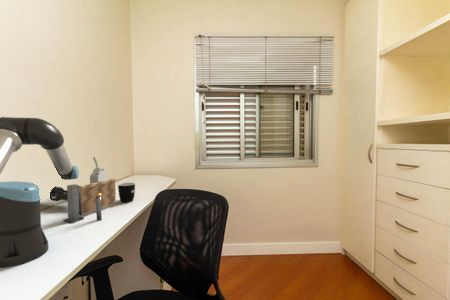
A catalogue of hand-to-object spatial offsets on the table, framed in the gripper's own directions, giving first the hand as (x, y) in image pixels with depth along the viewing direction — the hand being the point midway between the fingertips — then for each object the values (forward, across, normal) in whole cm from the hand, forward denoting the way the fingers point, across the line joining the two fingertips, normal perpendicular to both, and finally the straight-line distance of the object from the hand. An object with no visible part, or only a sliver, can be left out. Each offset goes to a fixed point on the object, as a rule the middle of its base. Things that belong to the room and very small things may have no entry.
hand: (86, 197), depth 125 cm
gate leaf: (+8, +1, -5) cm, 9 cm away
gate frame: (+12, +13, -6) cm, 18 cm away
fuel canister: (-16, -23, -7) cm, 29 cm away
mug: (+8, -21, -7) cm, 23 cm away
